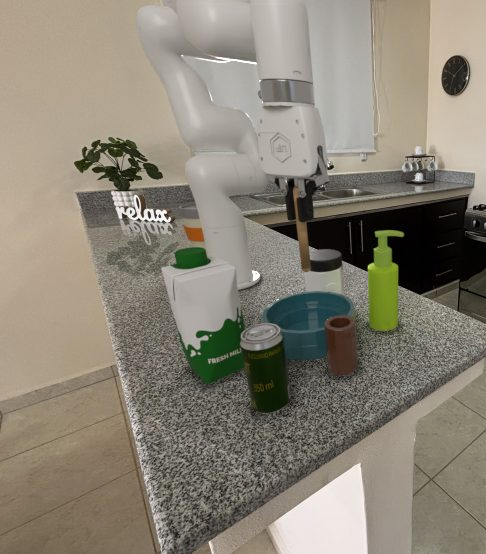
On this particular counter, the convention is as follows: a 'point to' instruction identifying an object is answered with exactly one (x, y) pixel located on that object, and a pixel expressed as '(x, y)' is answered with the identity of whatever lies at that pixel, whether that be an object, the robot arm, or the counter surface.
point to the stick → (302, 237)
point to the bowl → (306, 321)
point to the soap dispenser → (383, 285)
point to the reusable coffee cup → (192, 224)
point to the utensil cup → (341, 344)
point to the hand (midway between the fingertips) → (301, 219)
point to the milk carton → (206, 312)
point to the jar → (325, 272)
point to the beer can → (265, 367)
